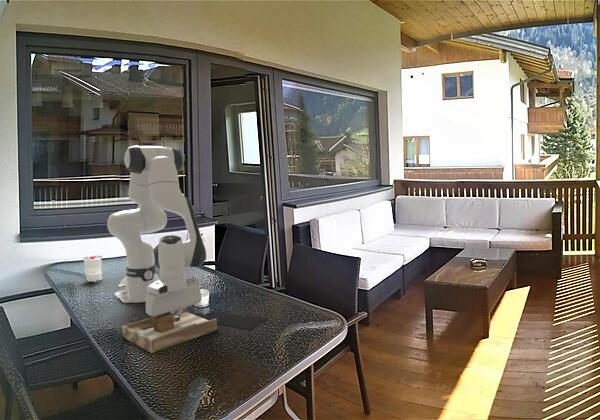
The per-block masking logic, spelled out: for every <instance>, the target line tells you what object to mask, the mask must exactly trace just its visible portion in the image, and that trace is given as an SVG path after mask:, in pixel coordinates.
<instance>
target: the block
mask: <svg viewBox="0 0 600 420" xmlns="http://www.w3.org/2000/svg"><path fill="white" fill-rule="evenodd" d="M151 317H152V316H151ZM152 320H153V328H154V330H156V331H158V332H160V333H163V332H165V331H168V330H170V329H173V328H174V320H173V314H171V313H169V312H167V313H164V314H161V315H157V316H154V317H152Z"/></svg>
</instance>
